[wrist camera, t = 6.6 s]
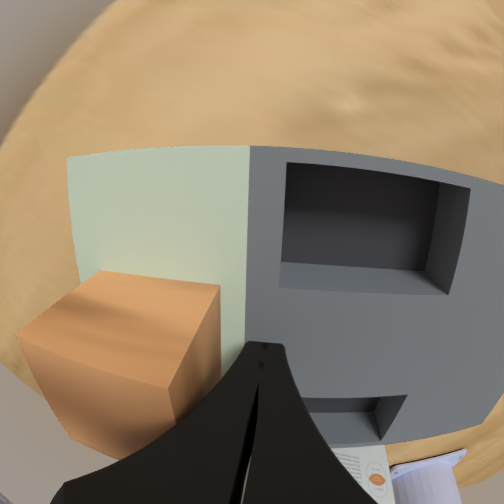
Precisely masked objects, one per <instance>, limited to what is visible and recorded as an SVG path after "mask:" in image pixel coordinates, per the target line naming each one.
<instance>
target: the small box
mask: <svg viewBox="0 0 504 504" xmlns="http://www.w3.org/2000/svg"><path fill="white" fill-rule="evenodd" d="M331 450H332V451H333V453H334V454H335V455H336V457H337V458H338V460H339V461H340V462H341V463H342V465H343V466H344V467H345V468H346V469H347V471H348V472H349V473H350V474H351V475H352V476H353V478H354V479H355V480H356V481H357V482H358V483H359V485H360V486H361V487H362V488H363V489H364V490H365V491H366V492H367V493H368V494H369V495H370V496H371V497H372V498H373V499H374V500H375V501H376V502H377V503H378V504H395V498H394V492H393V486H392V481H391V475H390V470H389V465H388V460H387V454H386V449H385V446H384V445H376V446H365V447H351V448H331ZM250 460H251V458H250ZM249 465H250V462H249ZM249 465H248V469H247V473H246V478H245V483H244V489H243V495H242V500H241V504H242V502H243V497H244V492H245V487H246V482H247V476H248V471H249Z"/></svg>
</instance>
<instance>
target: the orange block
mask: <svg viewBox="0 0 504 504" xmlns="http://www.w3.org/2000/svg"><path fill="white" fill-rule="evenodd" d="M16 337H17V340H18V342H19V345H20V347H21V349H22V352H23V354H24V356H25V358H26V361H27V363H28V365H29V367H30V369H31V371H32V373H33V375H34V377H35V379H36V381H37V383H38V385H39V387H40V389H41V391H42V393H43V395H44V396H45V398H46V400H47V402H48V403H49V405H50V407H51V409H52V410H53V412H54V414H55V415H56V417H57V418H58V420H59V421H60V423H61V425H62V426H63V428H64V429H65V431H66V432H67V434H68V435H69V437H70V438H71V439H73V440H75V441H77V442H79V443H81V444H83V445H85V446H88V447H90V448H92V449H94V450H96V451H98V452H101V453H103V454H106V455H108V456H110V457H113V458H115V459H118V460H121V459H123V458H125V457H127V456H129V455H131V454H132V453H134V452H136V451H138V450H140V449H141V448H143V447H145V446H146V445H148V444H149V443H151V442H152V441H154V440H155V439H157V438H158V437H159V436H161V435H162V434H164V433H165V432H166V431H168V430H169V429H170V428H172V427H173V426H174V425H175V424H177V423H178V422H179V421H180V420H181V419H183V418H184V417H185V416H186V415H187V414H188V413H189V412H191V411H192V410H193V409H194V408H195V407H196V406H197V405H198V404H199V403H200V402H201V401H202V400H203V399H204V398H205V397H206V396H207V394H208V393H209V392H210V391H211V390H212V389H213V388H214V387H215V386H216V385H217V383H218V382H219V381H220V380H221V378H222V369H221V305H220V285H216V284H206V283H197V282H189V281H180V280H172V279H163V278H156V277H148V276H140V275H133V274H125V273H118V272H111V271H104V270H100V271H99V272H98V273H96V274H95V275H93V276H92V277H91V278H89V279H88V280H86V281H85V282H84V283H82V284H81V285H79V286H78V287H77V288H75V289H74V290H73V291H71V292H70V293H68V294H67V295H66V296H64V297H63V298H62V299H60V300H59V301H58V302H56V303H55V304H54V305H53V306H51V307H50V308H49V309H47V310H46V311H45V312H44V313H42V314H41V315H40V316H38V317H37V318H36V319H35V320H33V321H32V322H31V323H30V324H28V325H27V326H26V327H25V328H23V329H22V330H21V331H20V332H19V333H17V334H16Z"/></svg>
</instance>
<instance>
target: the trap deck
mask: <svg viewBox="0 0 504 504" xmlns="http://www.w3.org/2000/svg"><path fill="white" fill-rule="evenodd" d="M67 178H68V195H69V208H70V218H71V227H72V234H73V242H74V248H75V255H76V261H77V266H78V272H79V277H80V282H81V284H82V283H84V282H85V281H86V280H88V279H89V278H91V277H92V276H93V275H95V274H96V273H98V272H99V271H100V270H104V271H111V272H118V273H125V274H133V275H140V276H148V277H156V278H163V279H172V280H180V281H189V282H197V283H206V284H216V285H220V305H221V369H222V377H223V376H224V375H225V373H226V372H227V371H228V370H229V368H230V367H231V366H232V364H233V363H234V361H235V360H236V358H237V357H238V355H239V354H240V352H241V350H242V349H243V347H244V345H245V343H246V342H248V341H258V342H269V343H282V344H283V345H284V346H285V351H286V356H287V360H288V364H289V367H290V370H291V373H292V376H293V379H294V381H295V384H296V386H297V388H298V391H299V393H300V396H301V398H302V400H303V402H304V404H305V406H306V408H307V410H308V412H309V414H310V416H311V418H312V420H313V421H314V423H315V425H316V427H317V428H318V430H319V432H320V433H321V435H322V436H323V438H324V439H325V441H326V443H327V444H328V446H329V447H330V448H351V447H365V446H376V445H385V444H393V443H400V442H407V441H413V440H418V439H424V438H429V437H434V436H438V435H443V434H447V433H451V432H455V431H459V430H462V429H466V428H469V427H473V426H476V425H479V424H482V423H483V421H484V420H485V419H486V417H487V416H488V414H489V413H490V412H491V410H492V409H493V407H494V406H495V405H496V403H497V402H498V400H499V399H500V397H501V396H502V394H503V393H504V185H501V184H497V183H494V182H491V181H487V180H484V179H480V178H477V177H473V176H469V175H465V174H461V173H457V172H453V171H449V170H445V169H440V168H436V167H431V166H426V165H421V164H416V163H411V162H406V161H400V160H394V159H388V158H382V157H375V156H368V155H361V154H353V153H345V152H336V151H326V150H315V149H303V148H288V147H269V146H226V145H221V146H177V147H158V148H144V149H132V150H122V151H112V152H104V153H96V154H88V155H81V156H74V157H68V158H67Z"/></svg>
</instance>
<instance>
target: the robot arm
mask: <svg viewBox="0 0 504 504" xmlns="http://www.w3.org/2000/svg"><path fill="white" fill-rule="evenodd" d="M466 453H467V450H466V449H462V450H459V451H456V452H452V453H449V454H445V455H441V456H437V457H433V458H429V459H425V460H420V461H416V462H411V463H405V464H400V465H396V466H394V467H392V468H391V469H390V475H391V481H392V486H393V492H394V498H395V504H462V501H461V498H460V494H459V490H458V487H457V483H456V480H455V477H454V474H453V470H452V468H453V467H454V466H455V465H456V464H457V463H458V462H459V461H460V460H461V459H462V458H463V456H464V455H465V454H466ZM250 458H251V460H250ZM249 462H250V465H249ZM248 465H249V471H248V476H247V482H246V487H245V492H244V497H243V502H242V504H378V503H377V502H376V501H375V500H374V499H373V498H372V497H371V496H370V495H369V494H368V493H367V492H366V491H365V490H364V489H363V488H362V487H361V486H360V485H359V483H358V482H357V481H356V480H355V479H354V478H353V476H352V475H351V474H350V473H349V472H348V471H347V469H346V468H345V467H344V466H343V465H342V463H341V462H340V461H339V460H338V458H337V457H336V455H335V454H334V453H333V451H332V450H331V448H330V447H329V446H328V444H327V443H326V441H325V439H324V438H323V436H322V435H321V433H320V432H319V430H318V428H317V427H316V425H315V423H314V421H313V420H312V418H311V416H310V414H309V412H308V410H307V408H306V406H305V404H304V402H303V400H302V398H301V396H300V393H299V391H298V388H297V386H296V384H295V381H294V379H293V376H292V373H291V370H290V367H289V364H288V360H287V356H286V351H285V346H284V345H283V344H282V343H269V342H258V341H248V342H246V343H245V345H244V347H243V349H242V350H241V352H240V354H239V355H238V357H237V358H236V360H235V361H234V363H233V364H232V366H231V367H230V368H229V370H228V371H227V372H226V373H225V375H224V376H223V377H222V378H221V380H220V381H219V382H218V383H217V385H216V386H215V387H214V388H213V389H212V390H211V391H210V392H209V393H208V394H207V396H206V397H205V398H204V399H203V400H202V401H201V402H200V403H199V404H198V405H197V406H196V407H195V408H194V409H193V410H192V411H191V412H189V413H188V414H187V415H186V416H185V417H184V418H183V419H181V420H180V421H179V422H178V423H177V424H175V425H174V426H173V427H172V428H170V429H169V430H168V431H166V432H165V433H164V434H162V435H161V436H159V437H158V438H157V439H155V440H154V441H152V442H151V443H149V444H148V445H146V446H145V447H143V448H141V449H140V450H138V451H136V452H134V453H132V454H131V455H129V456H127V457H125V458H123V459H121V460H119V461H118V462H116V463H114V464H112V465H110V466H107V467H105V468H103V469H100V470H98V471H95V472H92V473H90V474H87V475H84V476H81V477H79V478H76V479H73V480H70V481H67V482H65V483H64V484H63V485H62V487H61V488H60V489H59V490H58V492H57V493H56V495H55V496H54V497H53V499H52V501H51V503H50V504H241V500H242V495H243V489H244V483H245V478H246V473H247V469H248ZM0 504H12V503H11V502H10V501H9V500H8V499H6V498H5V497H4V496H3V495H2V494H1V493H0Z"/></svg>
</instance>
